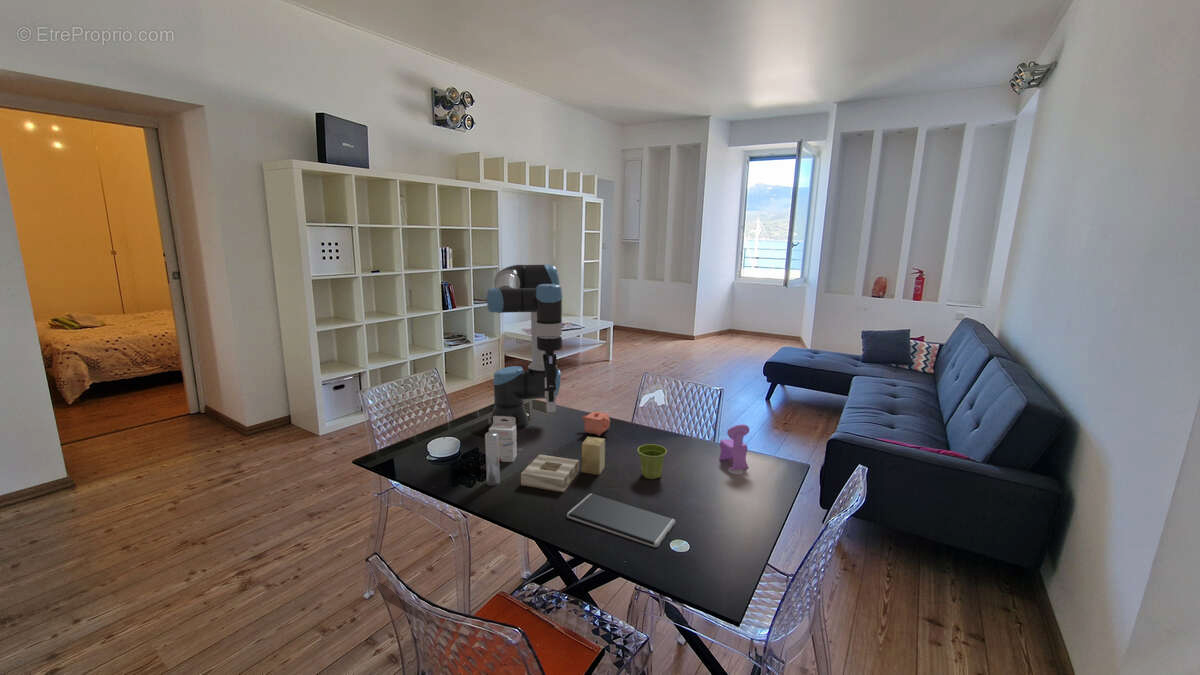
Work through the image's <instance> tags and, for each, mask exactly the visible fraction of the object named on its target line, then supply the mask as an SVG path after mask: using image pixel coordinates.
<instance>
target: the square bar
mask: <svg viewBox="0 0 1200 675" xmlns="http://www.w3.org/2000/svg"><path fill="white" fill-rule="evenodd" d="M605 461H606V439H605V438H601V437H596V436H595V437H593V436H586V438H585V439H584V441H583V442H582V443H581V473H583V474H584V473H585V474H590V475H591V474H592V475H597V476H600V475H601V473H602V472H603V470H604V469H605V464H606V462H605Z"/></svg>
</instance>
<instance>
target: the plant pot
mask: <svg viewBox="0 0 1200 675" xmlns="http://www.w3.org/2000/svg"><path fill="white" fill-rule="evenodd" d="M667 452H668V450H667V448H665V447H664V446H662V445H661V444H659V445H658V444H651V443H648V444H647V443H646V444H643V445H640V446H638V448H637V453H638V455H639V459H640V467H641V468H640V469H641V475H642V476H643V477H644V478H645V479H649V480H654V479H659V478H661V476H662V471H663V466H664V460H665V457H666V455H667Z"/></svg>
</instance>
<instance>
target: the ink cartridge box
mask: <svg viewBox="0 0 1200 675" xmlns="http://www.w3.org/2000/svg"><path fill="white" fill-rule="evenodd" d="M501 419H505V420H508V421H500V420H501ZM492 431H494V432H498V436H499V462H504V463H514V461H515V460H516V458H517V457H518V455H517V454H518V453H517V452H518V450H517V430H516V420H515V417H505V416H493V425H492V426H491V425H490V427H489V428H488V432H492Z"/></svg>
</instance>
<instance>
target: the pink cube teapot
mask: <svg viewBox="0 0 1200 675" xmlns="http://www.w3.org/2000/svg"><path fill="white" fill-rule="evenodd" d="M581 419H582V420H583V421H584V432H585V433H587V434H588V433H589V435H590V434H591V435H593V434H594V435H596V436H599V437H600V436H602V434H603V433H606V431H607V430H608V429H609V428H610V427H611V426H610V425H611V418H610V414H609V413H605V412H600V411H596V410H595V411H592V412H590V413H589V414H587V415H583V416H582V417H581Z"/></svg>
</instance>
